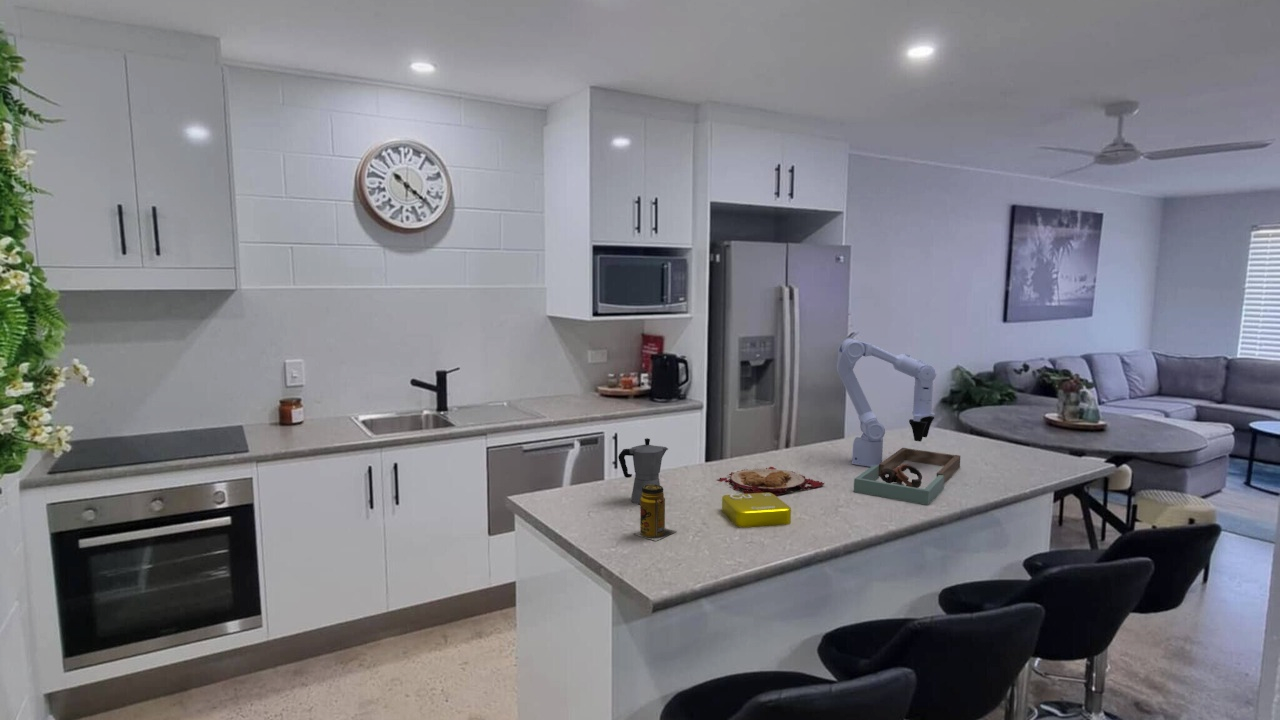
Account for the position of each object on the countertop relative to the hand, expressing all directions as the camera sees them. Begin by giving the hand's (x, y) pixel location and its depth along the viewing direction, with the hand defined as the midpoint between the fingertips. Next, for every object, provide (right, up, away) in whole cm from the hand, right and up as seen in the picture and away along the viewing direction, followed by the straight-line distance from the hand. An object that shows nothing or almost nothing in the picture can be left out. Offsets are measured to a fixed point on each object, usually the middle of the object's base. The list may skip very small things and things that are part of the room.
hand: (920, 439), depth 233 cm
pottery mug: (-16, -12, -24) cm, 32 cm away
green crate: (-17, -12, -26) cm, 33 cm away
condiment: (-92, -16, -63) cm, 113 cm away
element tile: (-65, -15, -51) cm, 84 cm away
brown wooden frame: (-3, -10, -7) cm, 13 cm away
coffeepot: (-94, -13, -38) cm, 103 cm away
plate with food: (-56, -12, -20) cm, 61 cm away
